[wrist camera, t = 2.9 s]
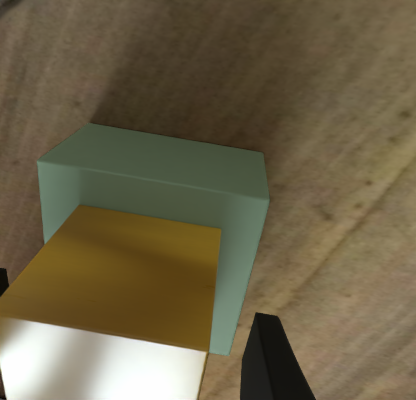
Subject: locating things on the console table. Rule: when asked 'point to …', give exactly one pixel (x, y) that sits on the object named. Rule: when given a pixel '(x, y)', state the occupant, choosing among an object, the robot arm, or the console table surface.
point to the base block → (166, 197)
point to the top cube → (111, 311)
